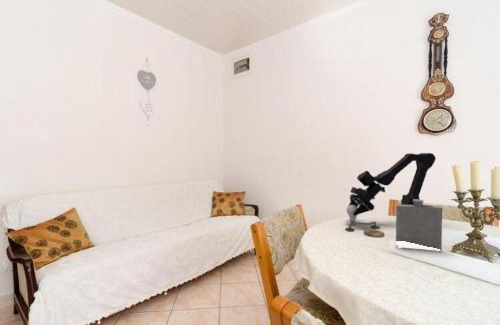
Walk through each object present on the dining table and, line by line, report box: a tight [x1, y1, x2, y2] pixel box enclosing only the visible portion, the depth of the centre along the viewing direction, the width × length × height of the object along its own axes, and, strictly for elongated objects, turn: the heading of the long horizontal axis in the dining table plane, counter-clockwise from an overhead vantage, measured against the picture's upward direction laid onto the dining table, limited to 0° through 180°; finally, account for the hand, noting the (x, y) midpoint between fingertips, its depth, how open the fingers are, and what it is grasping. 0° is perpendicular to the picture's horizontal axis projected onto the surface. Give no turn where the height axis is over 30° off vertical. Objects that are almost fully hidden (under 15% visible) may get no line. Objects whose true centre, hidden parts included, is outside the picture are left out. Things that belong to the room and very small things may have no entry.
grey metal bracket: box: [344, 221, 381, 233], centre depth 127 cm, size 18×4×4 cm, turn 104°
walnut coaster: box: [363, 229, 385, 238], centre depth 119 cm, size 9×9×1 cm
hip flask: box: [395, 199, 443, 251], centre depth 102 cm, size 16×4×20 cm, turn 72°
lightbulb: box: [346, 205, 359, 224], centre depth 135 cm, size 6×6×11 cm
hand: (350, 212), depth 135 cm, fingers open, 9 cm apart
